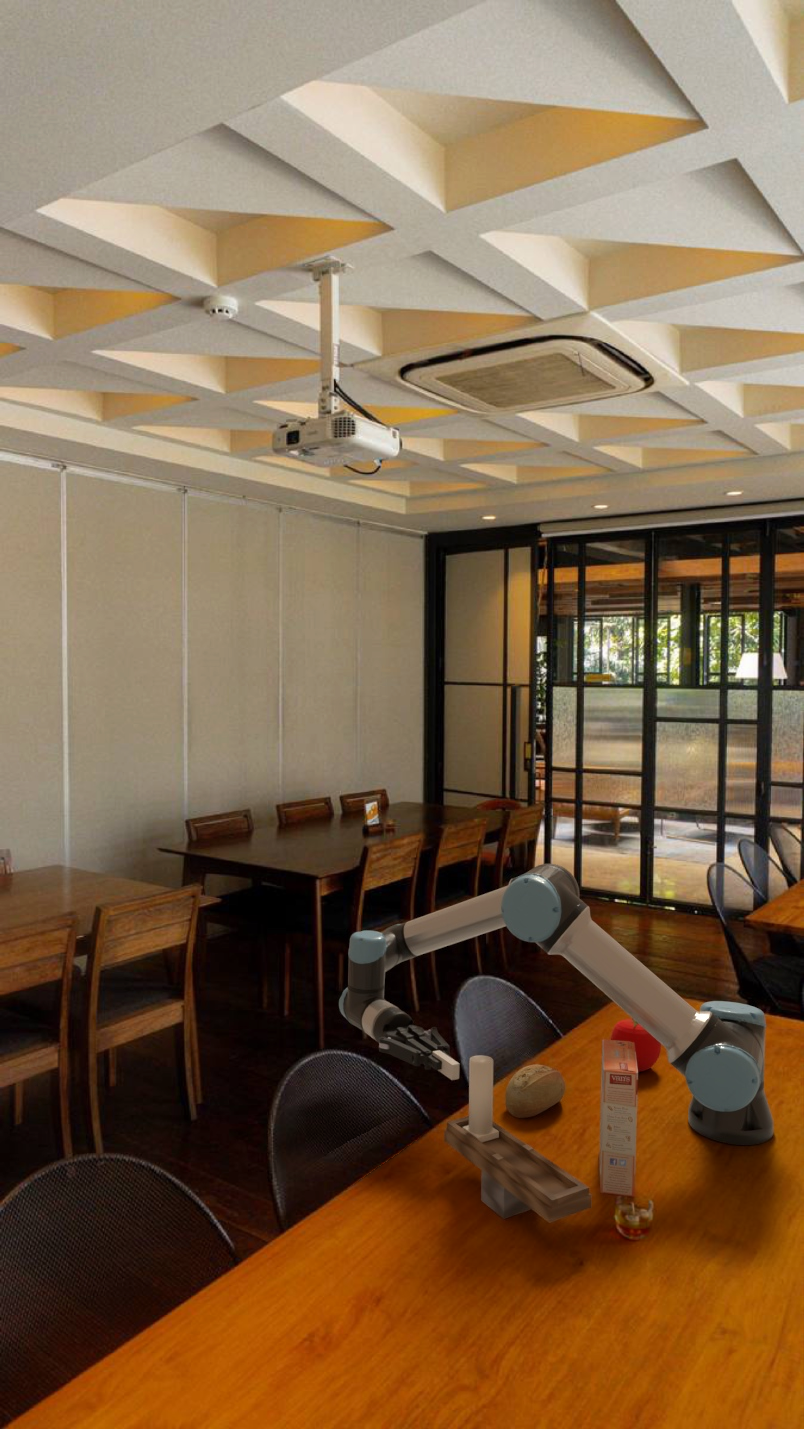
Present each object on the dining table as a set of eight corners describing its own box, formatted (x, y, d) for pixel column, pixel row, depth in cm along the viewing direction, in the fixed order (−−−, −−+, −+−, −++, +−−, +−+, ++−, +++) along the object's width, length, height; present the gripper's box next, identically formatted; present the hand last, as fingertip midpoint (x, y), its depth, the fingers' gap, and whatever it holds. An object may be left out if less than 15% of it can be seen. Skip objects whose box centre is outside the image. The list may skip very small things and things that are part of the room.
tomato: (598, 1066, 205) (599, 1017, 205) (630, 1054, 212) (631, 1007, 211) (637, 1082, 197) (638, 1031, 196) (669, 1070, 203) (670, 1021, 203)
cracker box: (637, 1199, 153) (639, 1072, 152) (599, 1194, 154) (601, 1068, 154) (634, 1157, 167) (636, 1040, 166) (599, 1153, 168) (601, 1037, 167)
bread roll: (577, 1102, 188) (578, 1063, 187) (536, 1129, 176) (536, 1087, 176) (537, 1088, 194) (537, 1050, 194) (494, 1113, 183) (494, 1072, 183)
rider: (498, 1137, 158) (499, 1062, 158) (477, 1143, 156) (478, 1067, 155) (483, 1126, 162) (484, 1053, 161) (462, 1132, 160) (463, 1058, 159)
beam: (590, 1240, 141) (591, 1185, 141) (548, 1256, 137) (549, 1200, 137) (482, 1157, 165) (482, 1111, 165) (443, 1169, 161) (444, 1121, 161)
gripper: (416, 1038, 189) (485, 1085, 168) (358, 1050, 182) (423, 1100, 162) (417, 1001, 188) (486, 1044, 168) (360, 1012, 182) (424, 1057, 161)
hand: (455, 1071), depth 165 cm, fingers closed
